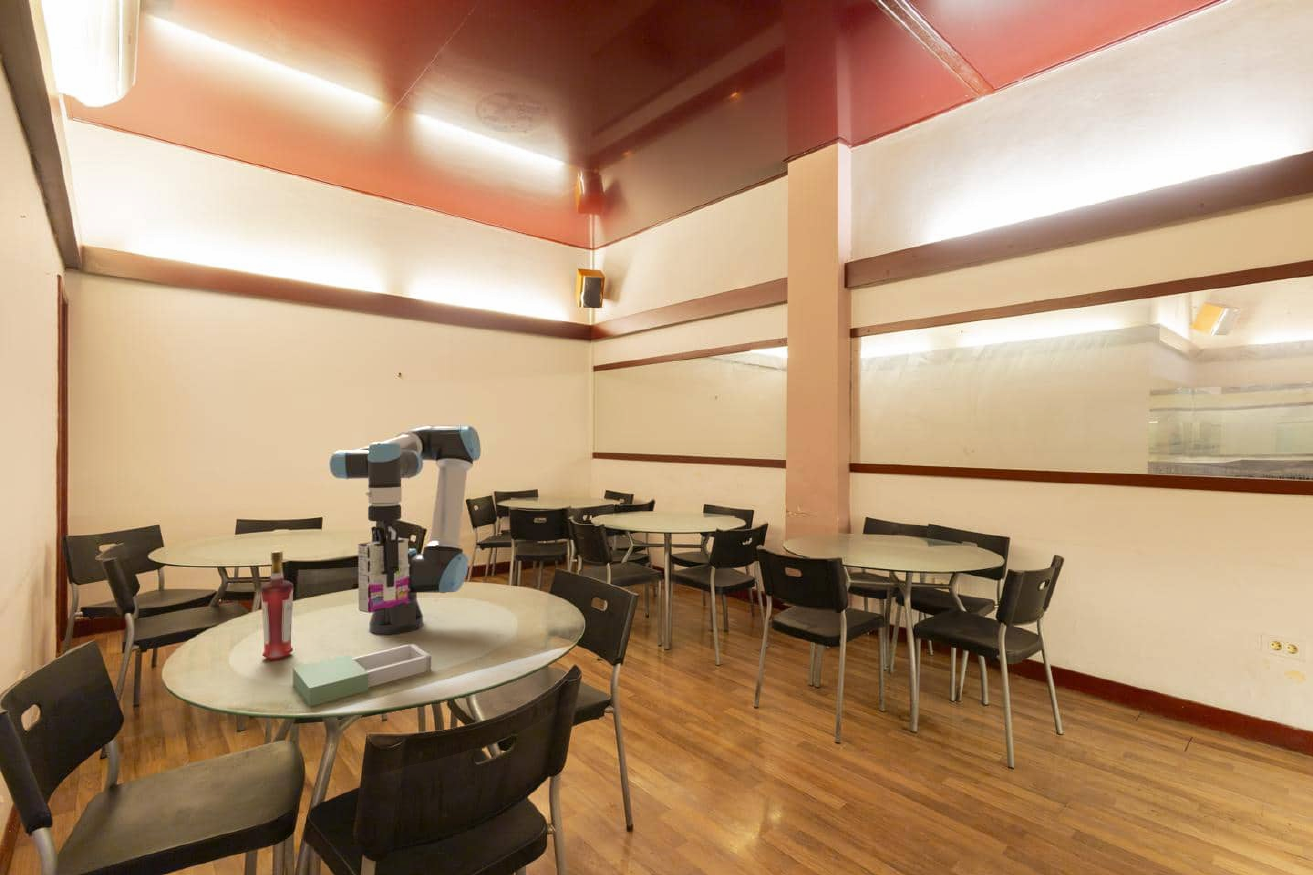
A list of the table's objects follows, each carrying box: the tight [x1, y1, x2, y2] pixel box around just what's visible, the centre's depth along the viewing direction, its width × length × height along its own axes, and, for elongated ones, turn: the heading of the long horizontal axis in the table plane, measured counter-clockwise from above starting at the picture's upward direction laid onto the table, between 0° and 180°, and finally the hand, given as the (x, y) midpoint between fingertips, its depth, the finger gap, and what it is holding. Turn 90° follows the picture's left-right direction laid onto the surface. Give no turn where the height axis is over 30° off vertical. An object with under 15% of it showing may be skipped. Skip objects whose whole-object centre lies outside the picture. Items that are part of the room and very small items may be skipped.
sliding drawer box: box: [292, 643, 432, 708], centre depth 143 cm, size 16×27×4 cm, turn 133°
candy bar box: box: [357, 537, 410, 614], centre depth 147 cm, size 11×5×16 cm, turn 146°
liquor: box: [260, 550, 294, 661], centre depth 157 cm, size 7×7×28 cm
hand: (384, 597), depth 147 cm, fingers closed on candy bar box, 6 cm apart
